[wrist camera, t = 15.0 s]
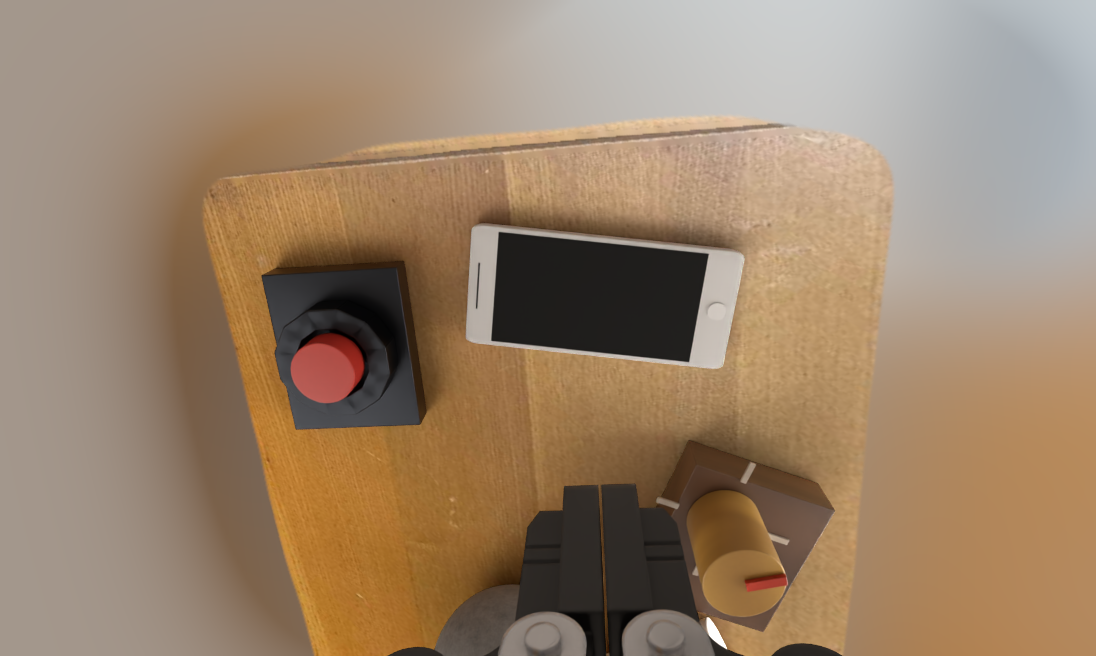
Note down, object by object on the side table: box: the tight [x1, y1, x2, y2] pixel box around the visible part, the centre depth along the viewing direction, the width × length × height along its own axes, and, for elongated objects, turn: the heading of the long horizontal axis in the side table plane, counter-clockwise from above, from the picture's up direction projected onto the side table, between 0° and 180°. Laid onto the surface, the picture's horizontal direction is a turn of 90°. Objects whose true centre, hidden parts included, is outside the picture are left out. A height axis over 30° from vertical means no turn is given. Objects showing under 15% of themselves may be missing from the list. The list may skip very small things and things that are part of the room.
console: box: [656, 440, 835, 632], centre depth 40 cm, size 11×10×3 cm
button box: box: [262, 261, 426, 430], centre depth 38 cm, size 10×8×4 cm
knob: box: [687, 490, 788, 617], centre depth 36 cm, size 4×4×6 cm
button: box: [291, 333, 365, 403], centre depth 36 cm, size 4×4×2 cm
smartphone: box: [466, 223, 745, 369], centre depth 37 cm, size 7×15×1 cm, turn 85°
